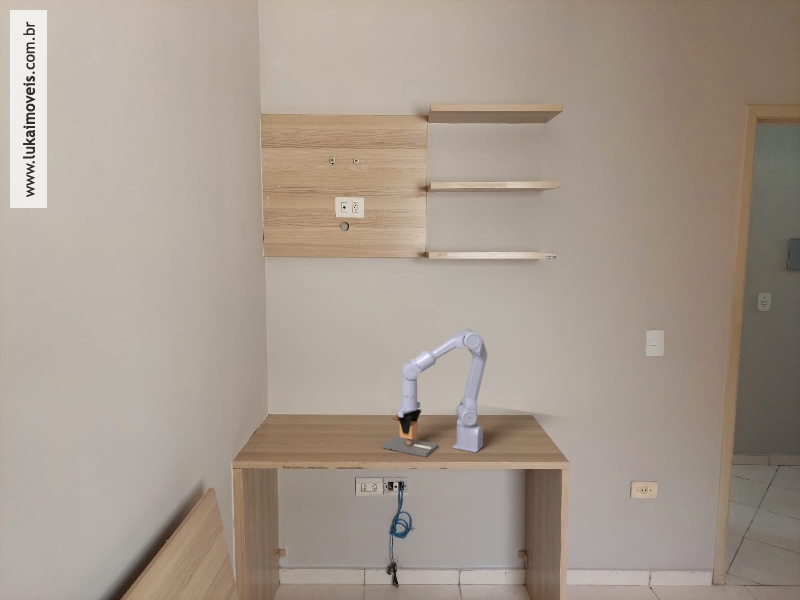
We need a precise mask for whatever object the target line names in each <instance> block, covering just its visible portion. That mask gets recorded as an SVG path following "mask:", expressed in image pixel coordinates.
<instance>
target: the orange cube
mask: <svg viewBox="0 0 800 600" xmlns="http://www.w3.org/2000/svg"><path fill="white" fill-rule="evenodd" d="M418 433H419V422H418V421H417V422H414V421H411V422H410V428H409V433H408V434H405V433H403V432H402V428H401V424H400V423H399V437H402V438H407V439H413V440H414V438H416V437H417V436H418Z"/></svg>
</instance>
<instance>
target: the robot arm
mask: <svg viewBox="0 0 800 600" xmlns="http://www.w3.org/2000/svg"><path fill="white" fill-rule="evenodd" d="M465 347H466V349H468V351H469V353H470V355H472V359H471V363H470V368H469V372H468V376H467V380H466V383H465V384H466V385H465V388H464V393H463V396H462V397H461V399H460V402H459V404H458V405H457V406H456V409H455V414H456V416H457V418H458V419H457V421H456V442H455V444H454V445H453V446H452V449H457V450H462V451H468V452H472V453H478V451H480V450H481V449H482V448H483V446H484V444H483V442H484V440H483V439H484V428H483V426H482V425H479V424H477V422H478V419H479V417H478V398H479V393H480V389H481V385H482V380H483V376H484V372H485V369H486V368H485V367H486V363H487V359H488V352H487V349H486V345H485V341H484V339H483V337H482V336H480V334H479V333H477V332H475V331H474V330H473V329H471V328H465V329H462V330H461V331H460V332H457V333H455V334H454V335H452V336H451V337H449V338H448V339H447V340H446V341H444V342H442V343H441V344H440V345H439V346H437V347H435V348H434V349H433V350H431V351H430V350H425V351H424V350H422V351H420V354H419V355H418V356H415V358H411V359H409V361H407V362H404V363H403V364H402V366H401V367H400V368H401V369H400V372H401V374H402V378H401V404H399V405H398V408H399V410H398V411H397V414H396V418H397V419H398V422H399V425H400V424H401V428H402V432H403V433H405V434H408V433H409V428H410V422H411V421H414V422H418V420H419V417H420V414H421V413H422V409H420V408H421V402H419V401H418V377H419V374H421V373H423V372H425V371H426V370H427V369H429V368H430V367H432V366H434V365H436V362H437V359H439V358H440V357H442V356H444V355H445V354H447V353H449V352H451V351H453V350H454V349H465Z"/></svg>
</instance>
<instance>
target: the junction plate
mask: <svg viewBox="0 0 800 600" xmlns="http://www.w3.org/2000/svg"><path fill="white" fill-rule="evenodd" d="M438 447H439V444H438V443H434V442H429V441H423V440H419V439H414V438H413V439H407V438H402V437H400V436H397V435H396V436H394V437H392V438H391V439H389V440H387V442H385V443H383V444H381V448H382V449H385V448H386V450H390V449H392V451H395V450H396V452H400V453H401V452H402V453H406V454H409V455H410V454H411V455H415V456H419V457H427V456H429V455H430V454H431V453H432V452H434V451H435V450H437V448H438Z"/></svg>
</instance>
